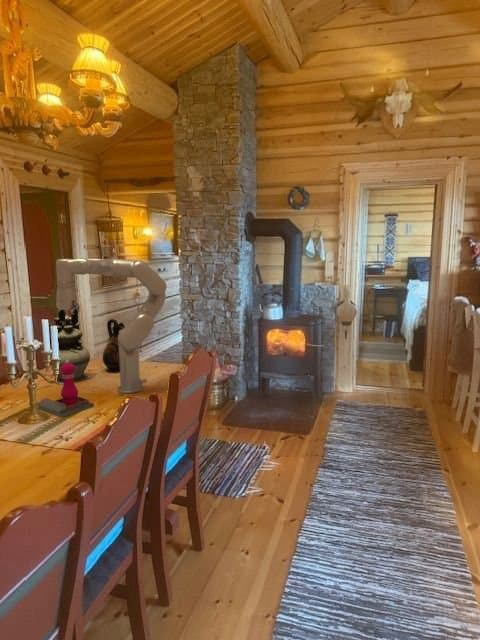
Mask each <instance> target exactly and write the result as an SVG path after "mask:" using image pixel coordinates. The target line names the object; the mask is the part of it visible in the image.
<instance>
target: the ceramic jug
mask: <svg viewBox="0 0 480 640" xmlns="http://www.w3.org/2000/svg"><path fill="white" fill-rule="evenodd" d="M112 324H113V326H112ZM106 327H107V332H108V336H109V338H108V342H107V344H106V345H105V347H104V349H103V352H102V363H103V364H104V366H105V367H106V368H107V371H108V372H110V373H120V362H119V345H118V335H119V333H120V331H121V330H122V329H124V328H126V326H125V324H124V323H123V322H120V323H118V321H117V320H116V319H114V318H111V319H108V321H107V325H106Z"/></svg>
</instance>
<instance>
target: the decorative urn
mask: <svg viewBox="0 0 480 640" xmlns="http://www.w3.org/2000/svg"><path fill="white" fill-rule="evenodd" d="M65 319H66V320H65V321H59V317H54V318H53V321H55V323H54V324H53V326H57V329H58V342H59V356H60V358H61V359H62V360H61V362H60V365H59V374H57V376H58V377H57V382H56V384H60V385H61V384H62V385H64V379H63V378H62V377H63V376H62V374H63V373H62V372H61V366H62V365H63V364H65V361H66V360H69V363H71V364H73V365H74V366H75V371H74V372H73V373H74V377H73V380H74V383H76V382H77V383H78V382H82V381H83V380H84V381H85V380H87V379H91V378H92V376H91V375H88V374H87V375H86V374H85V371H86V370H87V367H88V365H89V363H90V361H91V360H90V358H91V353H90V352H89V350H88V349H87V348H86V347H85V346H84V345H83V339H82V337H83V331H82V329H81V328H80V325H81V322H79V321H78V322H77V323H72V322H71V316H69V315H67V314H65ZM48 380H49V381H50V382H52V381H53V377H50V378H48Z"/></svg>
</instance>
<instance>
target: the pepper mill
mask: <svg viewBox="0 0 480 640" xmlns="http://www.w3.org/2000/svg"><path fill="white" fill-rule="evenodd" d="M74 371H75V366H74V365H73V364H71V363H69V360H66V361H65V364H63V365H62V366H61V372H62V373H63V374H62V376H63V377H62V378H63V379H64V384H62V389H61V391H60V396H61V398H63V403H64V404H66V405H71V404H74V403H77V402H78V401H77V398H76V397H77V396H78V395H79V390H78V388H77V386H76V384H75V382H74V380H73V377H74V373H73V372H74Z"/></svg>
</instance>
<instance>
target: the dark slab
mask: <svg viewBox="0 0 480 640" xmlns="http://www.w3.org/2000/svg"><path fill="white" fill-rule="evenodd" d="M76 398H77V401H78V402H77V403H74V404H71V405H66V404H64V403H63V398H62V397H61V398H58V399H50V398H47V397H45V398H42V399H40V404H39V405H37V409H38V408H39V409H38V410H40V411H44V412H46V413H49V414H51V415H54V416H56V417H57V416H58V417H59V418H60V417H61V418H64V417H68V416H71V415H74V414H76V413H80V412H82V411H85V410H88V409H90V408H94V407H95V403H93V402H90V401H89V400H90V399H88V398H85V397H82V396H78V395H77V397H76Z"/></svg>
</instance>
